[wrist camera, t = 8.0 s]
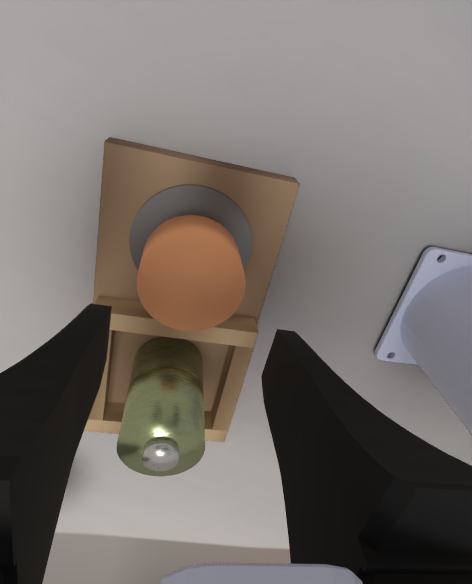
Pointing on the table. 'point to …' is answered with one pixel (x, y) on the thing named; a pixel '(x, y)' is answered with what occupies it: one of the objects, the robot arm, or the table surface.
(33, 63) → the table surface
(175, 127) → the table surface
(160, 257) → the button
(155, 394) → the cell
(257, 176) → the board
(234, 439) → the table surface
